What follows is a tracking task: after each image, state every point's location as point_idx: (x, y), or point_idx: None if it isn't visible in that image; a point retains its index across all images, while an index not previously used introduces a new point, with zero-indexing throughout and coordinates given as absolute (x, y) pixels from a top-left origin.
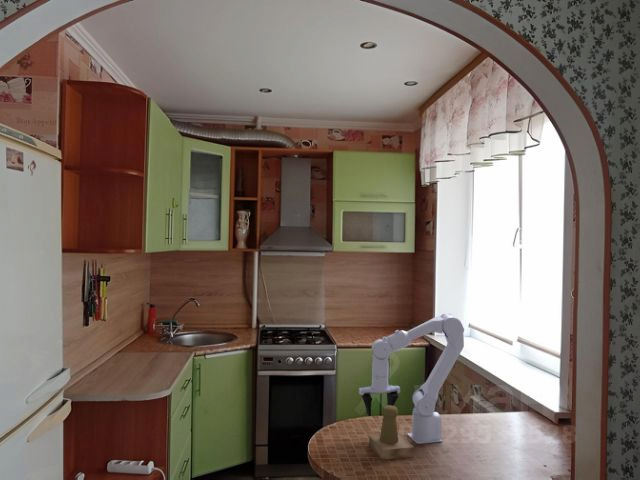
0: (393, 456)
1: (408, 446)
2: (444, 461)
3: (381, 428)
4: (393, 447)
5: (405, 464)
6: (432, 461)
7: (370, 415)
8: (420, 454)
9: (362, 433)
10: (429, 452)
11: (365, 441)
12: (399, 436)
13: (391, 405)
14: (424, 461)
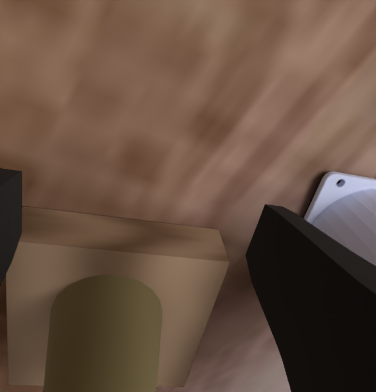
0: None
1: (162, 379)
2: (254, 387)
3: (49, 363)
4: None
5: None
6: (216, 381)
7: (16, 238)
8: (216, 339)
9: (52, 19)
10: (262, 335)
11: (19, 157)
12: (196, 294)
13: (285, 354)
14: (190, 377)
